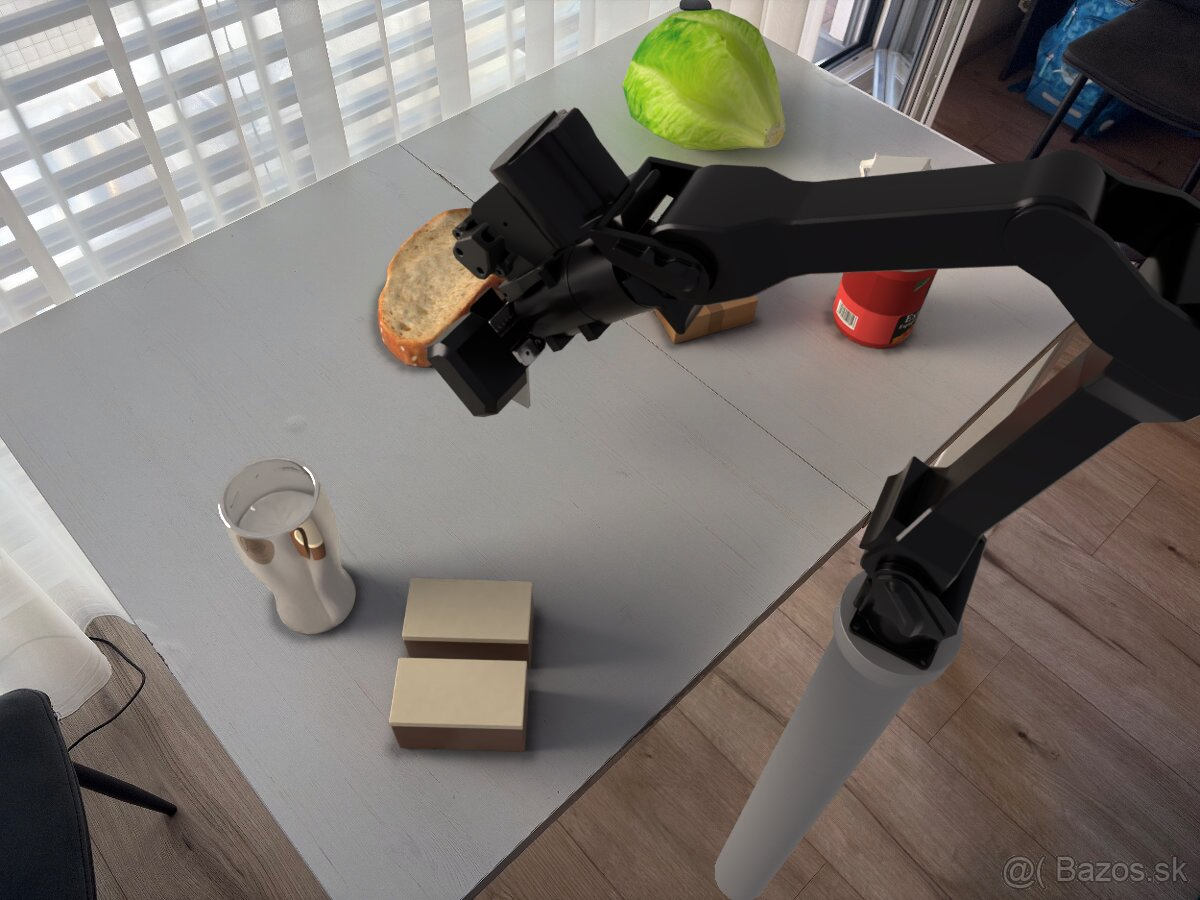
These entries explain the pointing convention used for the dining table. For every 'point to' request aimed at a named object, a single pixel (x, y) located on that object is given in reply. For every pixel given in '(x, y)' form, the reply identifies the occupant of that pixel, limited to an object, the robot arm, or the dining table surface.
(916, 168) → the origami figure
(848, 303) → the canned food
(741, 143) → the lettuce
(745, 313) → the cardboard box
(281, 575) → the beer glass
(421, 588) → the beige twin blocks
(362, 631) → the dining table surface
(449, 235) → the slice of bread
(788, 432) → the dining table surface
